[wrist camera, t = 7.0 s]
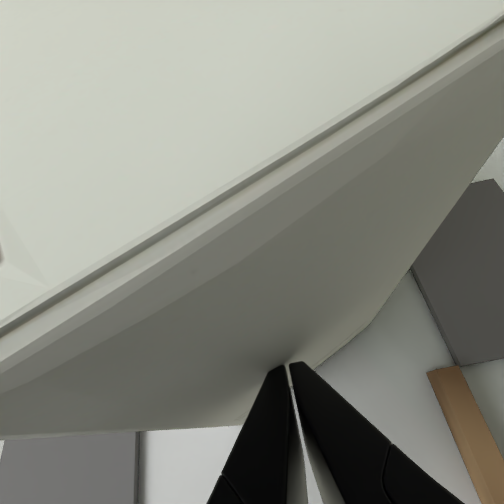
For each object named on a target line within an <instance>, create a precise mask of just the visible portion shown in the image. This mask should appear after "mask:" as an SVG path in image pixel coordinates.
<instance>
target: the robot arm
mask: <svg viewBox="0 0 504 504" xmlns="http://www.w3.org/2000/svg"><path fill="white" fill-rule="evenodd" d="M289 370H290V375H291V380H292V385H293V389H294V394H295V399H296V403H297V408H298V413H299V418H300V422H301V427H302V432H303V436H304V441H305V446H306V450H307V454H308V458H309V461H310V464H311V467H312V470H313V473H314V476H315V479H316V482H317V485H318V488H319V491H320V495H321V498H322V501H323V504H464V503H463V502H462V501H461V500H459V499H458V498H457V497H456V496H454V495H453V494H452V493H450V492H449V491H448V490H447V489H445V488H444V487H443V486H442V485H440V484H439V483H438V482H436V481H435V480H434V479H433V478H431V477H430V476H429V475H428V474H427V473H426V472H425V471H423V470H422V469H421V468H420V467H419V466H418V465H417V464H415V463H414V462H413V461H412V460H411V459H410V458H408V457H407V456H406V455H405V454H404V453H403V452H402V451H401V450H400V449H399V448H398V447H397V446H396V445H394V444H392V443H391V441H390V440H389V439H388V438H387V437H386V436H384V435H383V434H382V433H381V432H380V431H379V430H378V429H377V428H376V427H375V426H374V425H372V424H371V423H370V422H369V421H368V420H367V419H366V418H365V417H364V416H363V415H362V414H360V413H359V412H358V411H357V410H356V409H355V408H354V407H353V406H352V405H351V404H350V403H348V402H347V401H346V400H345V399H344V398H343V397H342V396H341V395H340V394H339V393H338V392H337V391H335V390H334V389H333V388H332V387H331V386H330V385H329V384H328V383H327V382H326V381H325V380H323V379H322V378H321V377H320V376H319V375H318V374H317V373H316V372H315V371H314V370H313V369H311V368H310V367H309V366H308V365H307V364H306V363H305V362H304V361H298V362H293V363H290V364H289ZM221 474H222V475H220V476H219V478H218V480H217V483H216V485H215V487H214V489H213V491H212V494H211V496H210V498H209V500H208V502H207V504H308V496H307V485H306V474H305V463H304V455H303V449H302V444H301V439H300V434H299V429H298V424H297V419H296V414H295V409H294V404H293V400H292V395H291V390H290V385H289V381H288V376H287V371H286V367H285V365H279V366H278V367H276V368H274V369H272V370H271V371H269V372H268V373H267V375H266V377H265V379H264V381H263V384H262V386H261V388H260V390H259V392H258V394H257V397H256V399H255V401H254V403H253V405H252V407H251V410H250V412H249V414H248V416H247V418H246V420H245V423H244V425H243V427H242V429H241V431H240V433H239V436H238V438H237V440H236V442H235V444H234V446H233V448H232V451H231V453H230V455H229V457H228V459H227V461H226V464H225V466H224V468H223V470H222V473H221Z"/></svg>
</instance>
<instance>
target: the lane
mask: <svg viewBox="0 0 504 504" xmlns="http://www.w3.org/2000/svg"><path fill="white" fill-rule="evenodd" d="M427 376H428V378H429V380H430V383H431V385H432V388H433V390H434V392H435V395H436V397H437V399H438V402H439V404H440V406H441V409H442V411H443V414H444V416H445V418H446V421H447V423H448V425H449V428H450V430H451V432H452V435H453V437H454V439H455V442H456V444H457V447H458V449H459V451H460V454H461V456H462V458H463V461H464V463H465V465H466V468H467V470H468V473H469V475H470V477H471V480H472V482H473V484H474V487H475V489H476V491H477V494H478V496H479V499H480V501H481V503H482V504H504V460H503V457H502V455H501V453H500V451H499V449H498V447H497V445H496V443H495V441H494V439H493V437H492V435H491V432H490V430H489V428H488V426H487V424H486V422H485V420H484V418H483V416H482V414H481V412H480V409H479V407H478V405H477V403H476V401H475V399H474V397H473V395H472V393H471V391H470V389H469V386H468V384H467V382H466V380H465V378H464V376H463V374H462V372H461V370H460V368H459V366H458V365H457V366H452V367H446V368H441V369H436V370H433V371H430V372H427Z"/></svg>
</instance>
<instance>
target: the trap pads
mask: <svg viewBox="0 0 504 504" xmlns="http://www.w3.org/2000/svg"><path fill="white" fill-rule="evenodd" d="M410 269H411V271H412V273H413V275H414V277H415V279H416V281H417V283H418V285H419V288H420V290H421V292H422V294H423V296H424V298H425V300H426V302H427V304H428V306H429V309H430V311H431V313H432V315H433V317H434V319H435V321H436V323H437V325H438V327H439V330H440V332H441V334H442V336H443V338H444V340H445V342H446V344H447V346H448V348H449V351H450V353H451V355H452V357H453V359H454V361H455V363H456V365H458V366H459V367H460V366H465V365H471V364H476V363H481V362H486V361H492V360H497V359H502V358H504V192H503V191H502V190H501V188H500V187H499V186H498V184H497V183H496V182H495V180H494V179H489V180H484V181H480V182H475V183H470V184H469V186H468V187H467V188H466V190H465V191H464V193H463V194H462V195H461V197H460V198H459V199H458V201H457V202H456V204H455V205H454V206H453V208H452V209H451V211H450V212H449V213H448V215H447V216H446V218H445V219H444V220H443V222H442V223H441V224H440V226H439V227H438V229H437V230H436V231H435V233H434V234H433V236H432V237H431V238H430V240H429V241H428V243H427V244H426V245H425V247H424V248H423V250H422V251H421V252H420V254H419V255H418V257H417V258H416V259H415V261H414V262H413V264H412V265H411V267H410ZM138 464H139V431H137V432H121V433H105V434H92V435H73V436H61V437H45V438H30V439H14V440H5V441H4V446H3V451H2V455H1V460H0V504H138Z"/></svg>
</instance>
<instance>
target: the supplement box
mask: <svg viewBox="0 0 504 504" xmlns="http://www.w3.org/2000/svg"><path fill="white" fill-rule="evenodd" d="M503 137H504V0H0V440H14V439H30V438H45V437H61V436H73V435H92V434H105V433H121V432H137V431H154V430H172V429H191V428H206V427H222V426H237V425H242V424H244V423H245V420H246V418H247V416H248V414H249V412H250V410H251V407H252V405H253V403H254V401H255V399H256V397H257V394H258V392H259V390H260V388H261V386H262V384H263V381H264V379H265V377H266V375H267V373H268V372H269V371H271V370H272V369H274V368H276V367H278V366H279V365H285V367H286V371H287V376H288V381H289V385H290V387H292V386H293V385H292V380H291V375H290V370H289V364H290V363H293V362H298V361H304V362H305V363H306V364H307V365H308V366H309V367H310V368H311V369H313V370H314V369H315V368H316V367H317V366H319V365H320V364H321V363H323V362H324V361H325V360H326V359H328V358H329V357H330V356H332V355H333V354H334V353H335V352H337V351H338V350H339V349H341V348H342V347H343V346H344V345H346V344H347V343H348V342H349V341H350V340H352V339H353V338H354V337H355V336H356V335H358V334H359V333H360V332H361V331H362V330H364V329H365V328H366V327H367V326H368V325H369V324H370V323H371V321H372V320H373V319H374V318H375V316H376V315H377V313H378V312H379V310H380V309H381V308H382V306H383V305H384V304H385V302H386V301H387V299H388V298H389V297H390V295H391V294H392V292H393V291H394V289H395V288H396V287H397V285H398V284H399V282H400V281H401V280H402V278H403V277H404V275H405V274H406V272H407V271H408V270H409V268H410V267H411V265H412V264H413V262H414V261H415V259H416V258H417V257H418V255H419V254H420V252H421V251H422V250H423V248H424V247H425V245H426V244H427V243H428V241H429V240H430V238H431V237H432V236H433V234H434V233H435V231H436V230H437V229H438V227H439V226H440V224H441V223H442V222H443V220H444V219H445V218H446V216H447V215H448V213H449V212H450V211H451V209H452V208H453V206H454V205H455V204H456V202H457V201H458V199H459V198H460V197H461V195H462V194H463V193H464V191H465V190H466V188H467V187H468V186H469V184H470V183H471V181H472V180H473V178H474V177H475V176H476V174H477V173H478V172H479V170H480V169H481V167H482V166H483V165H484V163H485V162H486V160H487V159H488V158H489V156H490V155H491V154H492V152H493V151H494V149H495V148H496V147H497V145H498V144H499V142H500V141H501V140H502V138H503Z"/></svg>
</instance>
